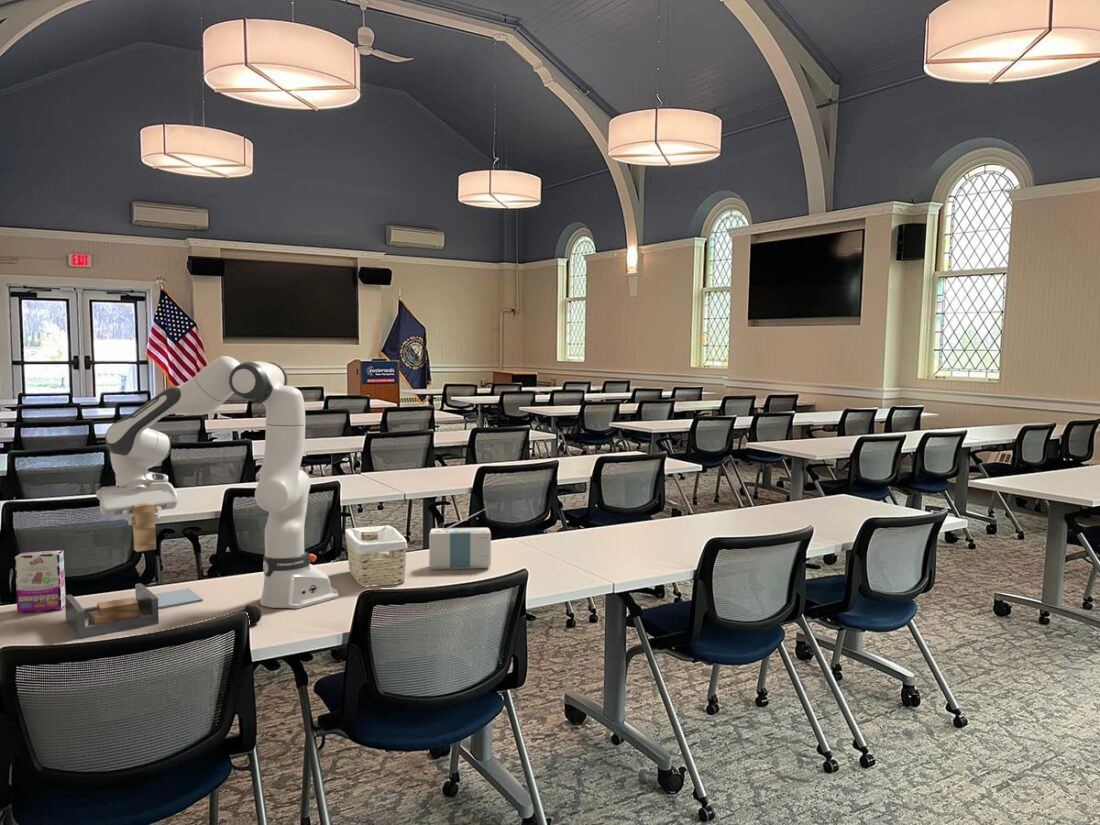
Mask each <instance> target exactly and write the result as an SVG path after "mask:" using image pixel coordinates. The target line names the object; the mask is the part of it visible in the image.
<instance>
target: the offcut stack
mask: <svg viewBox="0 0 1100 825" xmlns="http://www.w3.org/2000/svg"><path fill="white" fill-rule="evenodd" d="M96 606H97V611H92V612H88V618H87V626H89V625H94V624H100V623H105V622H111V621H116V620H121V619H127V618H132V617H138V616H143V615H142V614H141V613H140V609H139V608H138V602H137V600H136V597H134V596H133V597H128V598H121V599H113V600H107V601H101V602H97V603H96Z"/></svg>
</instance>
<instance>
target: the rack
mask: <svg viewBox="0 0 1100 825" xmlns="http://www.w3.org/2000/svg"><path fill="white" fill-rule="evenodd" d="M134 586H135V588H134V589H135V599H136V600H137V602H138V608H139V609H140V613H141V614H142V615H143V616H138V617H132V618H127V619H121V620H116V621H111V622H105V623H100V624H94V625H89V626H88V625H86V619H88V612H92V611H97V605H95V606H91V607H85V608H84V607H82V605H81V604H80V603H79V601H78V600H76V598H75V597H74V595H72V594H65V607H64V609H65V621H66V623H67V624H68V625H69V627H70V628H71V629H72V631H73V632H74V634H75V635H76V637H77V638H78V639H79V640H80V639H85V638H90V637H96V636H99V635H106V634H110V633H111V634H112V633H115V632H120V631H126V630H132V629H136V628H142V627H146V626H153V625H157V624H159V622H160V621H159V617H160V616H159V609H158V598H157V597H156V596H155V595H154V594H155V593H153V592H152V591H150V590H149V589H148V588H147V587H146V586H145V585H144V584H142V583H140V582H139V583H135V585H134Z"/></svg>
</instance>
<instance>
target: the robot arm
mask: <svg viewBox="0 0 1100 825" xmlns="http://www.w3.org/2000/svg"><path fill="white" fill-rule="evenodd" d="M288 380H289V379H288V376H287V372H286V371H285V369H284V368H283V367H282V366H280V365H279V364H277V363H274V362H266V361H260V360H257V361H256V360H255V361H245V362H242V363H240V361H238V360H237V359H236V358H234V357H232V356H229V355H222V356H219V357H218V358H216V359H214V360H213V361H211V362H210V363H208V364H207V365H206V366H204V367H203V368H201V369H200V370H199V372H197V373H196V374H195V375H194V376H193V377H192V378H190V379H188V380H187V381H185V382H183V383H181V384H179V385H177V386H174V387H169V388H167V389H164V390H163V391H161V392H160V393H158V394H157V395H155V396H153V397H152V398H151V399H150V400H148V401H146V403H144V404H143V405H141V406H140V407H138V408H137V409H136V410H134V411H133V412H132V413H130V414H129V415H128V416H127V415H126V416H125V417H123V418H121V419H119V420H117V421H115V422H114V423H113V424H112V425H110V426H109V427H108V429H107V431H106V432H105V435H104V436H105V444H106V446H107V449H108V450H109V456H110V457H109V458H110V463H111V467H112V470H113V472H114V473H115V482H116V485H110V486H102V487H100V488H99V489H97V490H96V492H95V495H96V499H98V500H99V512H100V514H101V515H102V516H103V517H113V516H121V517H122V518H123V519H124V520H126V521H127V522H128V523H127V524H128V526H133V525H135V517H133V516H131V514H132V515H133V511H132V505H134V504H143V503H153V504H155V523H159V522H160V521H161V518H160V515H161V511H164V510H172V509H173V510H174V509H176V507H177V505H178V503H179V497H178V494H177V492H176V490H175V487H174V486H173V484H172V483H171V482H169V476H168V475H167V474H165V473H158V472H154V471H149V469H152V468H154V467H156V466H157V465H159V464H160V463H162V462H164V460H166V459H167V458H168V457H169V455H170V453H171V448H172V447H171V446H172V445H171V440H170V437H169V435H167V434H165V433H163V432H161V431H158V430H155V429H152V428H149V427H151V426H152V425H154V424H155V423H156V422H158V421H159V420H161V419H162V418H163V417H166V416H168V415H175V414H188V415H199V416H201V415H208V414H210V413H212V412H214V411H216V410H217V409H218V408H220V407H221V406H222V405H223V404H224V403H225V402H226V401H227V400H228V399H229V398H230V397H231V396H232V395H234V394H235V395H236V396H237V397H240V398H242V399H244V400H247V401H250V402H253V403H256V404H258V405H259V404H263V405H264V408H265V434H264V436H265V439H264V441H265V442H264V452H263V454H264V455H263V459H262V463H261V468H260V474H259V478H258V479H259V480H258V483H257V485H256V488H255V490H254V498H255V502H256V504H257V506H258V507H259V508H260V509H261V510H264V511H266V512H268V516H267V520H266V521H267V522H266V524H265V527H264V555H263V563H262V565H263V566H262V570H263V574H264V577H263V578H264V580H263V587H262V593H261V596H260V600H259V604H260V605H261V606H263V607H267V608H274V609H275V608H276V609H277V608H278V609H282V608H283V609H284V608H286V609H294V610H295V609H301V608H305V607H308V606H311V605H315V604H320V603H323V602H327V601H331V600H334V599H336V598H337V597H338V598H339V597H340V596H339V594H340V593H339V591H338V590H337V589H335V588H334V587H332V586H331V581H330V577H329V576H328V575H327V573H325V572H324V571H323V570H320V568H318V567H316V566H315V565H313V564H311V562H312V563H313V562H315V561H316V560H317V556H316V555H315V554H313V553H309V552H306V551H305V523H306V522H305V521H306V515H307V510H308V500H309V493H310V490H311V484H312V483H311V479H310V476H309V475H308V473H306V472H305V471H304V470H303V469H301V464H302V460H303V456H304V455H305V449H306V409H305V401H304V400H305V399H304V396H303V393H302V391H301V390H299V389H298V388H297V387H295V386H292V385H288Z"/></svg>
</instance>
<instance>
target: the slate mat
mask: <svg viewBox="0 0 1100 825" xmlns="http://www.w3.org/2000/svg"><path fill="white" fill-rule="evenodd" d="M153 594H154V595H155V596H156V597H157V598H158V610H163V609H167V608H172V607H177V606H183V605H189V604H194V603H199V602H204V599H203V598H202V597H201V596H199V595H198V594H197V593H196V592H194V591H193V590H192V589H190V587H189V588H188V587H187V588H183V589H176V590H169V591H164V592H160V593H153Z"/></svg>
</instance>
